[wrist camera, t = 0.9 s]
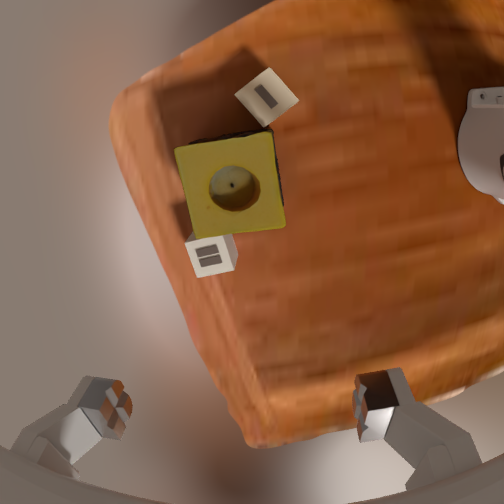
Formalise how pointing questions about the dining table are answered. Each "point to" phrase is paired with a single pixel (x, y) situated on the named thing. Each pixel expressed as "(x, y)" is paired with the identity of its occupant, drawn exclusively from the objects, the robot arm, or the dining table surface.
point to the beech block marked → (266, 97)
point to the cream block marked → (212, 254)
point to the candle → (232, 183)
